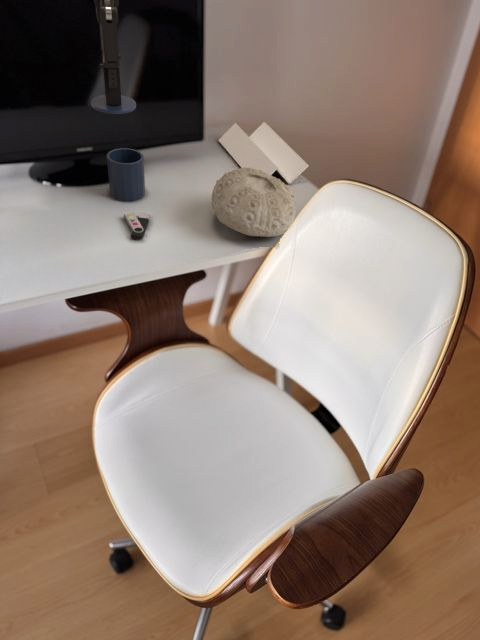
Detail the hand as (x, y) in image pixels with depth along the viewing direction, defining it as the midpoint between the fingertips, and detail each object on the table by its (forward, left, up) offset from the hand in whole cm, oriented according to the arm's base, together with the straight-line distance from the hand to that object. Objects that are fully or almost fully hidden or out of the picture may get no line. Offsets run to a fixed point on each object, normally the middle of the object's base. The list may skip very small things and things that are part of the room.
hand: (113, 100), depth 103 cm
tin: (+2, +3, -21) cm, 21 cm away
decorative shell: (+26, -11, -21) cm, 35 cm away
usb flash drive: (+2, -11, -21) cm, 24 cm away
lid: (0, 0, -1) cm, 1 cm away
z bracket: (+38, +17, -21) cm, 47 cm away
